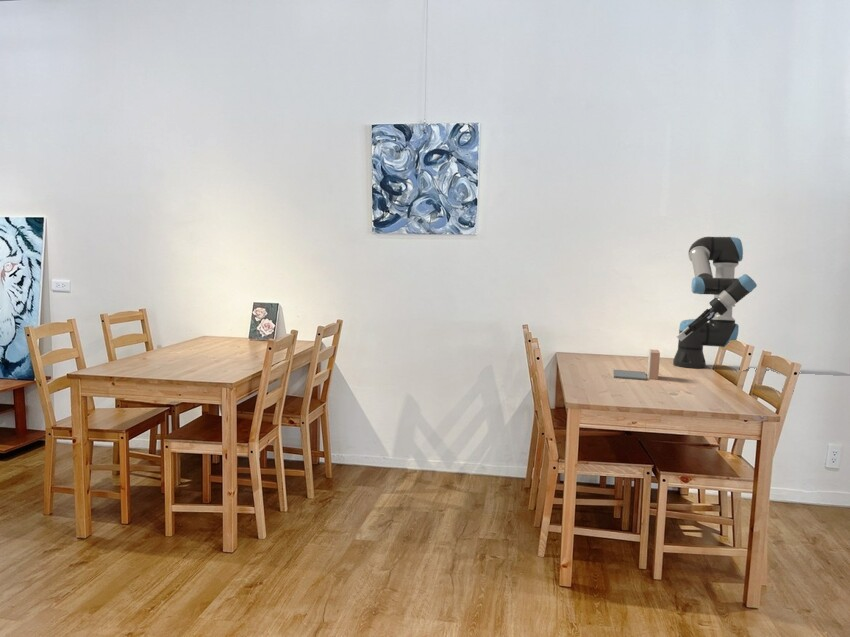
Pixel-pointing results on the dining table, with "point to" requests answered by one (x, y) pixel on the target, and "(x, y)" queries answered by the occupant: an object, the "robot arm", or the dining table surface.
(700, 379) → the dining table surface
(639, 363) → the dining table surface
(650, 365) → the terracotta block
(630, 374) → the slate mat
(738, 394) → the dining table surface
